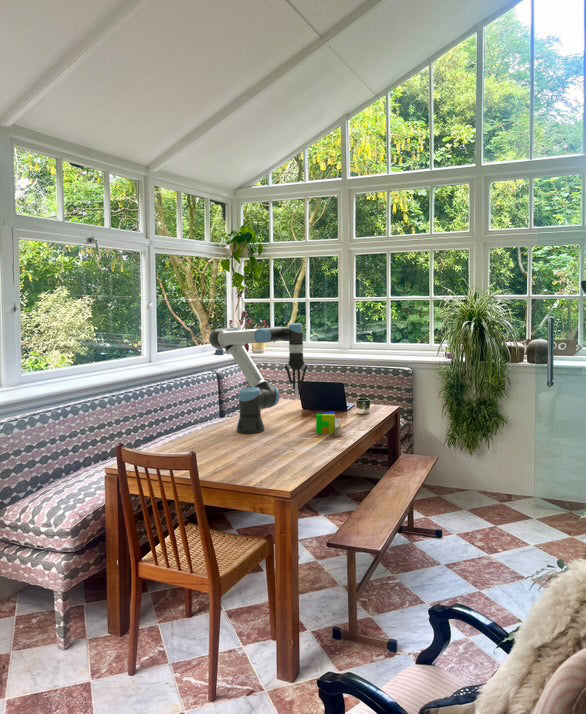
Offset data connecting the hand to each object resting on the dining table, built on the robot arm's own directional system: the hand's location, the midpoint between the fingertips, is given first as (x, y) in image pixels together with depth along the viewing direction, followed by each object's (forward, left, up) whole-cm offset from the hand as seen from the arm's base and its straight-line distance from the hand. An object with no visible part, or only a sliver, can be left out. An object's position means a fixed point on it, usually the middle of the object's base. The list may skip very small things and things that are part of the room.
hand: (296, 395), depth 338 cm
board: (+22, -1, -20) cm, 30 cm away
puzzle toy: (+16, -1, -20) cm, 25 cm away
